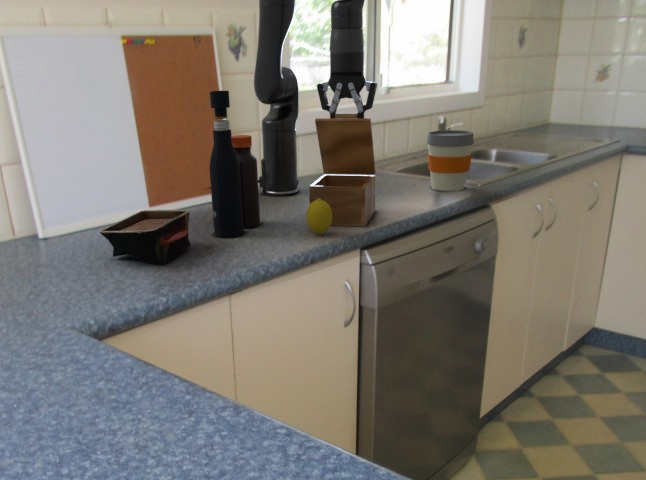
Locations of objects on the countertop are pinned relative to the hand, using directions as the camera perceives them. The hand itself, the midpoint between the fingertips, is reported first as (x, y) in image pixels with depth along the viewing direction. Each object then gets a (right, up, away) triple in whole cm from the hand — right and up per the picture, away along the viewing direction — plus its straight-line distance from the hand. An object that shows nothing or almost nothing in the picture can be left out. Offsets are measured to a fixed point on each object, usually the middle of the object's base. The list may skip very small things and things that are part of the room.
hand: (347, 128), depth 154 cm
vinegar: (-23, -23, -1) cm, 33 cm away
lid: (0, -4, 0) cm, 5 cm away
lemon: (-7, -26, -11) cm, 29 cm away
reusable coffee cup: (+30, -8, +32) cm, 45 cm away
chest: (-1, -20, +3) cm, 20 cm away
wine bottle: (-26, -25, -8) cm, 37 cm away
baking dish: (-40, -31, -21) cm, 55 cm away
